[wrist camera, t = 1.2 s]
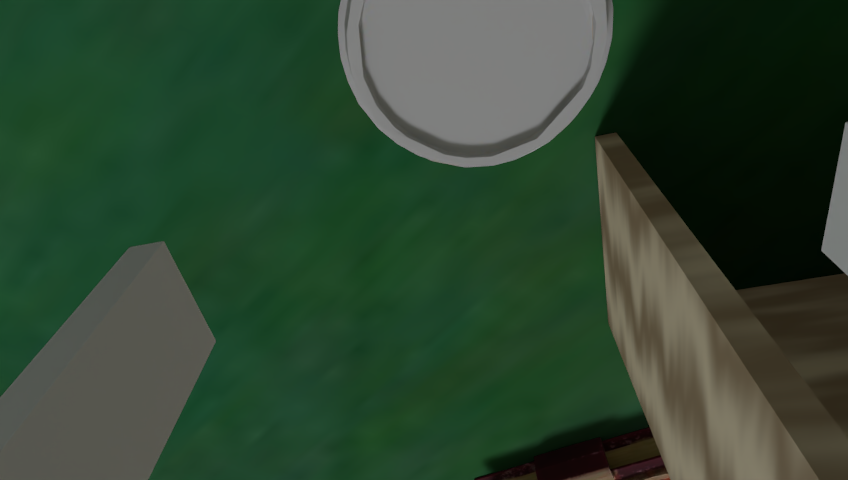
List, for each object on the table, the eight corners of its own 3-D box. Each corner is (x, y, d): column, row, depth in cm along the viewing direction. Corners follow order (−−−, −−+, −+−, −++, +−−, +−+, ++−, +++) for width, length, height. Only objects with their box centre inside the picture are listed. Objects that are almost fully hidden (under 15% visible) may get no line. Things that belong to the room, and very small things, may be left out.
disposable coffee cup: (416, 114, 32) (405, 214, 22) (338, -59, 28) (277, -36, 18) (580, 46, 30) (652, 121, 20) (522, -153, 26) (577, -190, 15)
